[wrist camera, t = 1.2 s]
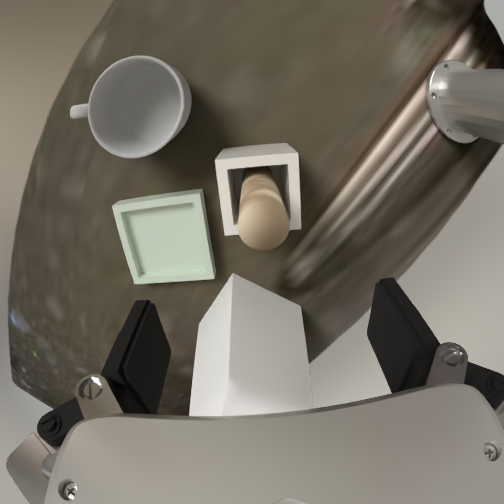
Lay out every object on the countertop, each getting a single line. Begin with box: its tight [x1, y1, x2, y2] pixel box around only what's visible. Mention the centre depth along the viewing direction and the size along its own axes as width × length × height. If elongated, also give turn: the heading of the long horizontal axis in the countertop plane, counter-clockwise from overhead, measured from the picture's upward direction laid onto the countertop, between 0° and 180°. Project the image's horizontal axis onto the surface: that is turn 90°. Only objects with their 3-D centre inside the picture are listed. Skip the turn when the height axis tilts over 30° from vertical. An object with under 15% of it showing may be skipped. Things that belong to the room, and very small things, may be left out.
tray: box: [112, 189, 216, 284], centre depth 38 cm, size 12×12×2 cm
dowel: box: [238, 166, 290, 250], centre depth 27 cm, size 4×4×16 cm
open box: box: [215, 143, 301, 236], centre depth 31 cm, size 8×8×9 cm
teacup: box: [70, 56, 192, 158], centre depth 27 cm, size 14×11×8 cm
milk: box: [189, 273, 313, 416], centre depth 34 cm, size 12×12×26 cm
